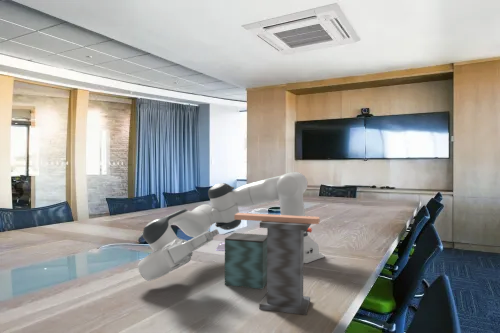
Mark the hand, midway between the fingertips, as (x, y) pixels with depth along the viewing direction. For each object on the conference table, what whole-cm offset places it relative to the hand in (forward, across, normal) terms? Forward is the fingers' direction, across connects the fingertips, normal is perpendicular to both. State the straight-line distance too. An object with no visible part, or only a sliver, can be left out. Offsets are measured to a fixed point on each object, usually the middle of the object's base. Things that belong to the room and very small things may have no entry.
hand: (212, 234), depth 114 cm
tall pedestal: (+11, 0, -30) cm, 32 cm away
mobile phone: (-27, -62, -9) cm, 68 cm away
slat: (+21, 0, -6) cm, 22 cm away
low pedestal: (-4, -16, -21) cm, 27 cm away
